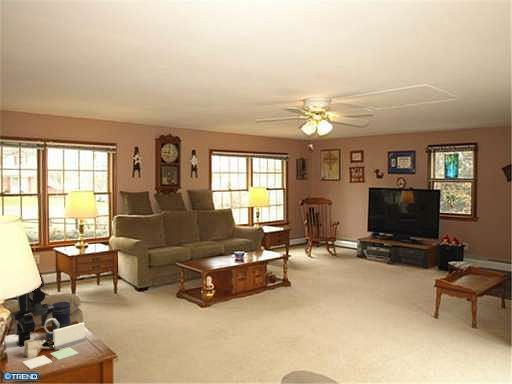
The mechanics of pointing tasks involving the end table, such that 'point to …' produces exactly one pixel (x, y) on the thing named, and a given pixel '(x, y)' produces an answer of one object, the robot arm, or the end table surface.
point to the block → (30, 348)
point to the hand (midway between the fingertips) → (33, 328)
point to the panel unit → (69, 335)
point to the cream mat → (37, 362)
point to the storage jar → (61, 314)
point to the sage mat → (64, 353)
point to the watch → (50, 333)
